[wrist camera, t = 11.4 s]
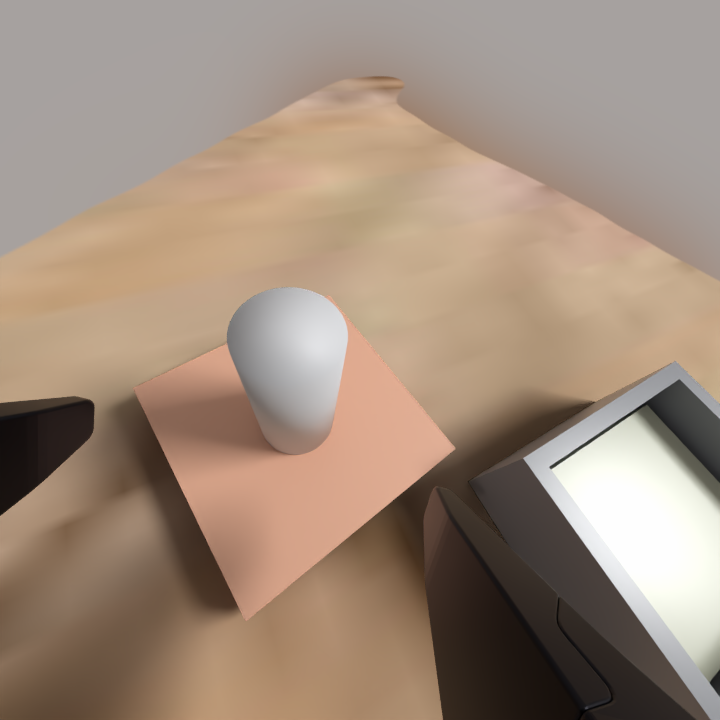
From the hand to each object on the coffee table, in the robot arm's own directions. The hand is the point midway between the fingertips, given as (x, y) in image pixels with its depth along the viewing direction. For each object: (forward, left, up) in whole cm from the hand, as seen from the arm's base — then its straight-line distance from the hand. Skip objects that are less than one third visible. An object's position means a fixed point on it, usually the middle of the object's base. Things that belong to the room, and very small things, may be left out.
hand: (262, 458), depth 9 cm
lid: (+3, -2, -8) cm, 8 cm away
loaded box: (-8, -13, -8) cm, 18 cm away
